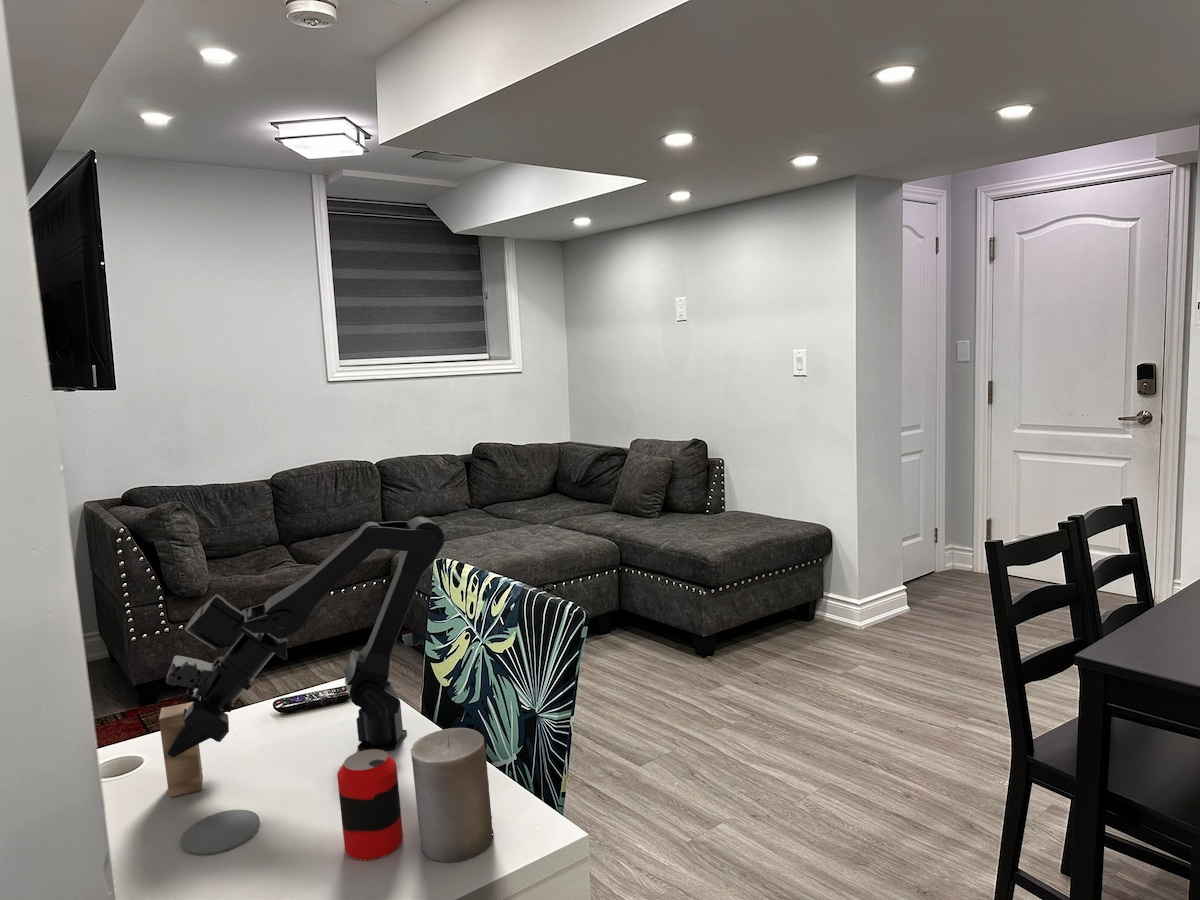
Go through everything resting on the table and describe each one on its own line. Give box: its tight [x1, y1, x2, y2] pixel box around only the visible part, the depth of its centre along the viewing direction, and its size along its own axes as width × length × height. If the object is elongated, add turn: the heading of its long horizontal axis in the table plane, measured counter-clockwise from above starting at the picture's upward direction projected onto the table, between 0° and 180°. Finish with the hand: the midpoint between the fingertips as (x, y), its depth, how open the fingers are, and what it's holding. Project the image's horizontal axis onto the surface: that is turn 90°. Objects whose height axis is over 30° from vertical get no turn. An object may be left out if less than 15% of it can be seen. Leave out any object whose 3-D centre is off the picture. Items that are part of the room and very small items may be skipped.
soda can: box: [336, 749, 404, 861], centre depth 112 cm, size 8×8×12 cm
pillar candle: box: [410, 727, 495, 863], centre depth 111 cm, size 10×10×15 cm
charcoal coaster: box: [180, 809, 261, 856], centre depth 117 cm, size 10×10×1 cm
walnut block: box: [158, 702, 204, 798], centre depth 130 cm, size 4×4×12 cm
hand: (171, 748), depth 129 cm, fingers closed on walnut block, 4 cm apart
